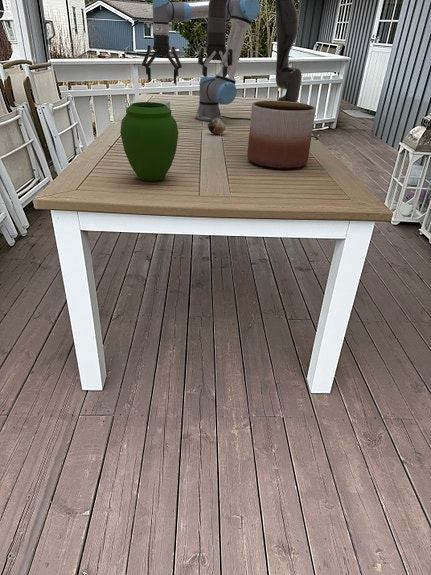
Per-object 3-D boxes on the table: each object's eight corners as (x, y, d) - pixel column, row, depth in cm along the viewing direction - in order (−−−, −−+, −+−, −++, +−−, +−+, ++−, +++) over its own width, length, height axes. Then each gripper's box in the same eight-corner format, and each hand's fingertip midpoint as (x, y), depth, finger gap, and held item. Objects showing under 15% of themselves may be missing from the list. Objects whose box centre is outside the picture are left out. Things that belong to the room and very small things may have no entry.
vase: (131, 189, 135) (125, 110, 122) (118, 172, 150) (112, 100, 137) (186, 184, 142) (187, 109, 129) (169, 168, 157) (167, 99, 144)
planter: (316, 170, 164) (326, 111, 152) (255, 170, 160) (260, 110, 148) (295, 154, 185) (303, 101, 173) (241, 154, 181) (245, 99, 169)
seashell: (224, 133, 216) (225, 117, 212) (226, 135, 212) (227, 119, 207) (206, 132, 215) (207, 116, 211) (208, 135, 210) (208, 118, 206)
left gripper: (134, 33, 198) (136, 81, 210) (184, 35, 196) (184, 85, 207) (139, 33, 205) (141, 80, 216) (187, 35, 202) (187, 83, 213)
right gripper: (203, 30, 157) (201, 77, 165) (236, 32, 161) (233, 78, 170) (196, 30, 162) (195, 75, 171) (229, 31, 167) (226, 76, 176)
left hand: (162, 82), depth 211 cm, fingers open, 13 cm apart
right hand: (214, 76), depth 171 cm, fingers open, 8 cm apart
